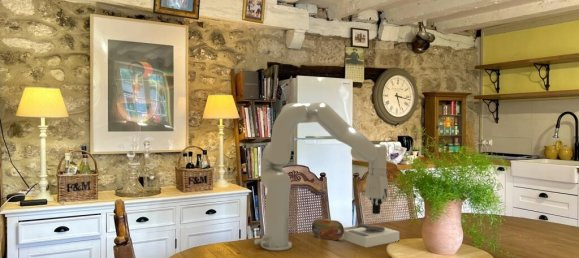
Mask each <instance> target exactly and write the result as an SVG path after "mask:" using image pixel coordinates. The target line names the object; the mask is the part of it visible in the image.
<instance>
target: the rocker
mask: <svg viewBox="0 0 579 258" xmlns="http://www.w3.org/2000/svg"><path fill="white" fill-rule="evenodd" d="M358 227H359V228H362V227H363V228H366V229H372V230H382V231H384V230H385V228H386V227H385V228H384V226H381V225H378V226H377V224H367V223H358Z"/></svg>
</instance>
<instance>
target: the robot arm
mask: <svg viewBox="0 0 579 258" xmlns="http://www.w3.org/2000/svg"><path fill="white" fill-rule="evenodd" d="M306 123H307V124H309V123H317V124H319V126H321V127H322V129H324V130H325V131H326V132H327V133H328V134H329V135H330V136H331V137H332V138H334V139H335V140H336V141H338V142H340V143H342V144H345V145H346V146H348V147H350V148H351V149H350V155H351V157H352V158H354V159H355V161H361V162H367V163H368V169H367V170H368V174H367V176H366V180H365V188H364V196H365V197H366V198H367V199H368V200H370V202H371V205H372V207H371V208H372V209H371V210H372V211H371V212H372V214H374V215H379V214H381V205H382V204H383V203H385V202H387V198H388V196H389V184H388V183H389V181H388V177H387V157H388V156H387V155H388V154H387V153H388V149H387V145H385V144H382V143H381V144H379V143H378V144H377V143H376V144H375V143H373V142H372V141H371V140H370V139H369V138H368V137H366V135H364V134H363V133H361V132H360V131H359V130H357V129H356V128H355V127H353V126H351V125H350V124H349V123H348V122H347V121H346V120H344V118H342V117H341V116H340V115H339V114H338V113H337V112H336V111H335V110H334V109H333V108H332V107H331V106H330V105H329V104H328V103H326V102H311V103H302V102H292V103H291V102H290V103H287V104H285V105H283V106H282V108H281V110H280V113H279V114H278V115H277V117H276V118H275V120H274V123H273V125H272V131H271V139H270V142H269V143H268V144H266V145H265V147H264V148H263V152H262V156H261V166H260V169H261V170H260V181H261V182H260V183H261V184H262V186H264V187H265V188H266V196H265V217H264V218H265V221H264V225H265V228H264V235H262V237H261V238H256V239H254V240H253V241H254V245H260V246H261V248H262V249H264V250H267V251H276V252H277V251H286V250H289V249H291V248H292V247H293V244H292V242H291V241H289V217H290V215H289V213H290V210H289V209H290V207H289V206H290V193H291V186H292V182H291V181H292V180H291V176H289V174H288V173H287V172H286V171H284V170H283V169H284V167H283V166H286V165H287V164H288V163H289V162H290V160H291V157H292V156H291V155H292V144H293V143H292V141H293V140H292V139H293V134H294V130H295V129H296V127H297V126H298V124H306Z"/></svg>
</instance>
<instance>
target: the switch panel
mask: <svg viewBox="0 0 579 258" xmlns="http://www.w3.org/2000/svg"><path fill="white" fill-rule="evenodd" d="M376 225H377V224H376ZM377 226H379V225H377ZM383 227H384V226H383ZM384 228H385V230H384V231H382V230H372V229H366V228H363V227H358V228H357V227H356V228H351V229H344V233H343V241H346V242H349V243H352V244H355V245H357V246H361V247H363V248H372V247H376V246H381V245H386V244H390V243H396V242H399V241H400V231H398V230H394V229H391V228H387V227H384ZM398 240H399V241H398ZM395 241H396V242H395Z"/></svg>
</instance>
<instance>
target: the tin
mask: <svg viewBox="0 0 579 258" xmlns="http://www.w3.org/2000/svg"><path fill="white" fill-rule="evenodd" d="M311 230H312V234H313V235H314V236H315V237H316V238H319V239H325V240H330V241H338V240H340V239H341V238H342V237H344V230H345V228H344V226H343V224H342V223H341V221H338V220H334V219H328V218H327V219H326V218H317V219H315V220H314V221H313V222H312V224H311Z"/></svg>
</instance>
